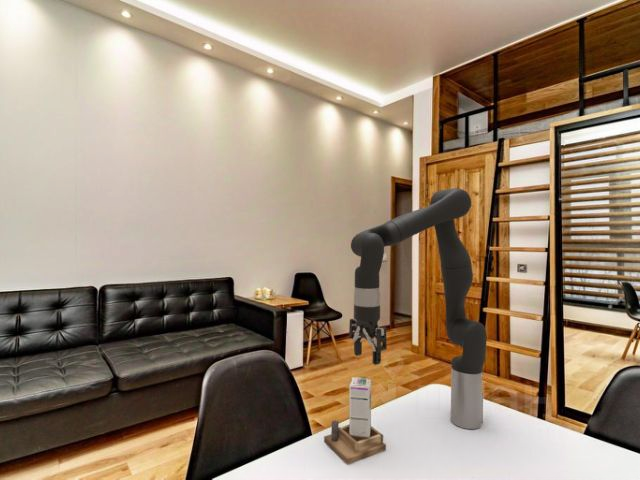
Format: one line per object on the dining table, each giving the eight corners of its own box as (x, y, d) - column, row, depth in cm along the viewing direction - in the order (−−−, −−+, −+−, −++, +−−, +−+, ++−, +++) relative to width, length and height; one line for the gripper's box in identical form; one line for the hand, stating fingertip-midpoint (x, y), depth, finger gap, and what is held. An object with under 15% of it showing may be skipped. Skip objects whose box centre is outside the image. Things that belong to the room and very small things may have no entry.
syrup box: (369, 438, 100) (370, 386, 100) (348, 435, 101) (349, 384, 101) (371, 427, 106) (371, 378, 105) (350, 425, 107) (351, 376, 106)
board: (360, 429, 112) (360, 408, 111) (386, 450, 101) (386, 427, 101) (324, 441, 105) (324, 419, 105) (347, 464, 95) (348, 440, 95)
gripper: (394, 306, 99) (393, 364, 99) (362, 297, 111) (362, 350, 112) (372, 309, 95) (372, 370, 95) (342, 300, 107) (342, 354, 108)
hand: (366, 359), depth 103 cm, fingers open, 8 cm apart
